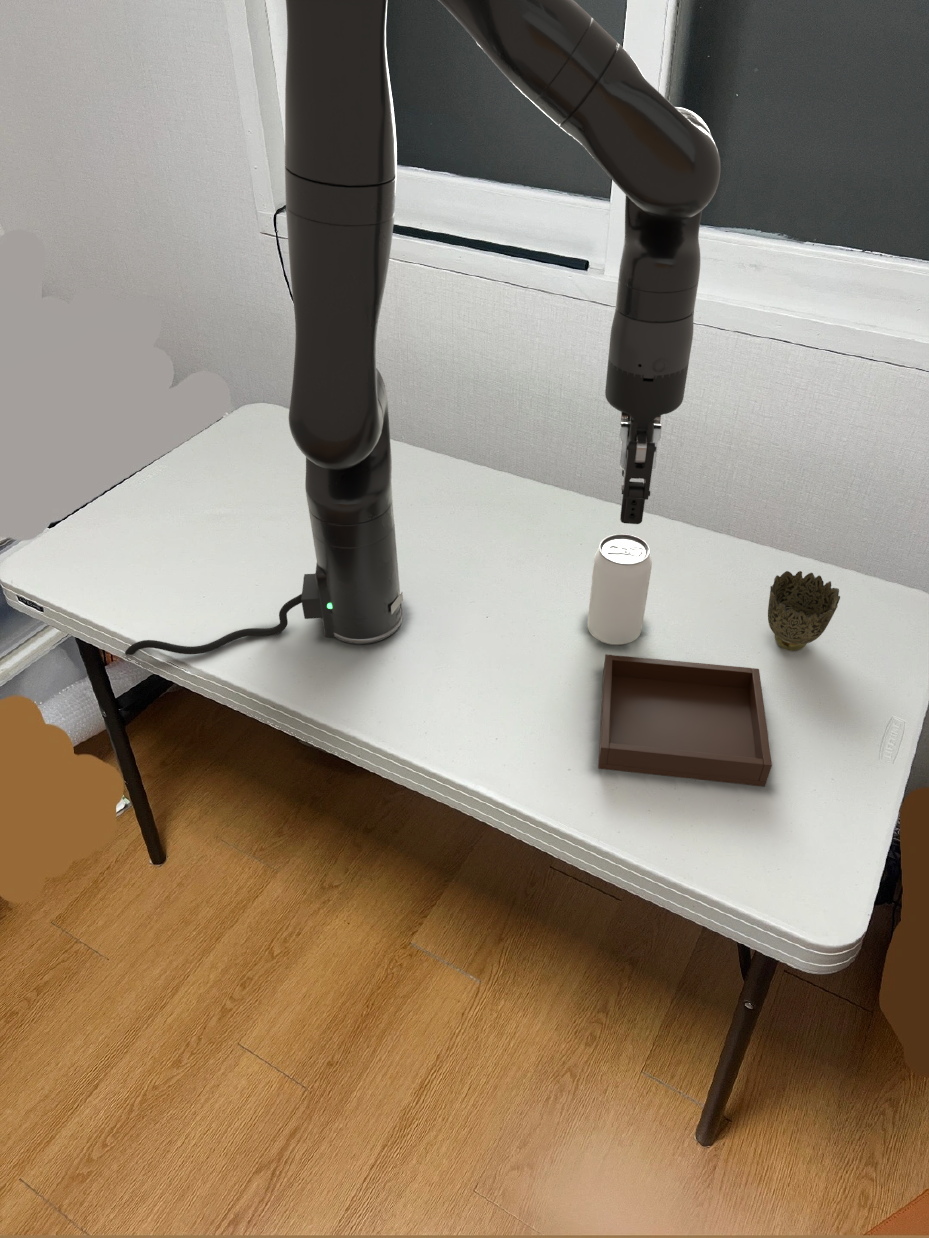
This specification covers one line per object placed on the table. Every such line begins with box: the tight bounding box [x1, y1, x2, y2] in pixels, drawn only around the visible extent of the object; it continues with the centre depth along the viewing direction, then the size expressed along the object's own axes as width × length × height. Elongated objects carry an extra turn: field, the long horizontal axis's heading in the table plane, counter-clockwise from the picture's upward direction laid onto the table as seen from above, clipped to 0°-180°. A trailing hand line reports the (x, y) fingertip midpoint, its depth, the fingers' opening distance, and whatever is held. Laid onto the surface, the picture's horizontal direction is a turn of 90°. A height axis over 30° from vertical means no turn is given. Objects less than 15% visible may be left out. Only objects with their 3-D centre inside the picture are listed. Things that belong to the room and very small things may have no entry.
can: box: [587, 533, 653, 646], centre depth 103 cm, size 6×6×12 cm
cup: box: [767, 570, 841, 652], centre depth 102 cm, size 8×7×8 cm
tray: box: [597, 653, 773, 787], centre depth 94 cm, size 17×14×3 cm
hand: (631, 498), depth 95 cm, fingers open, 8 cm apart
